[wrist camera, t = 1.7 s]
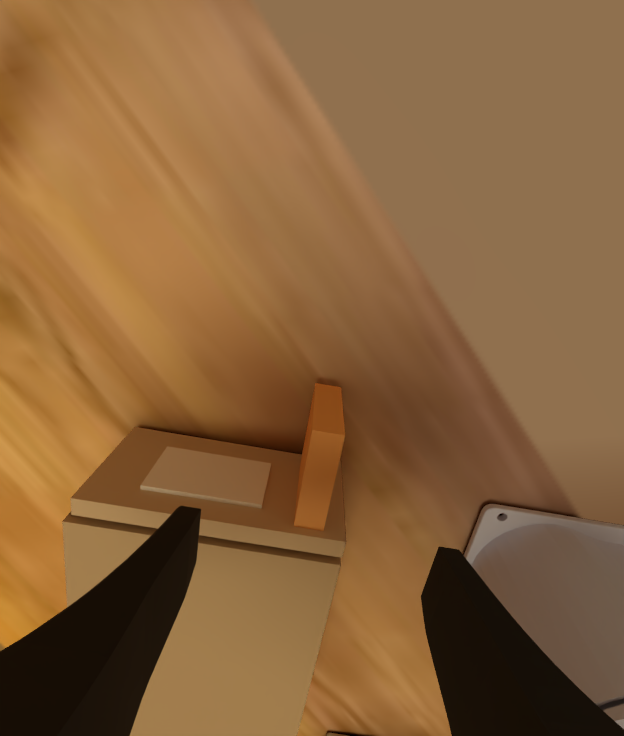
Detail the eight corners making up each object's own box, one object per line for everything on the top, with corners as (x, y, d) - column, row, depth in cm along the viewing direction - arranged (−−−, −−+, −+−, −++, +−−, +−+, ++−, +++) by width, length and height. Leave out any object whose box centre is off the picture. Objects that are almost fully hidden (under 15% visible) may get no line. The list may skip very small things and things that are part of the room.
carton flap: (358, 384, 20) (370, 445, 14) (338, 474, 21) (342, 557, 16) (136, 345, 19) (65, 394, 14) (134, 440, 21) (71, 514, 16)
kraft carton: (337, 475, 22) (340, 565, 16) (291, 673, 27) (282, 791, 22) (131, 441, 22) (62, 521, 16) (127, 648, 27) (76, 761, 22)
